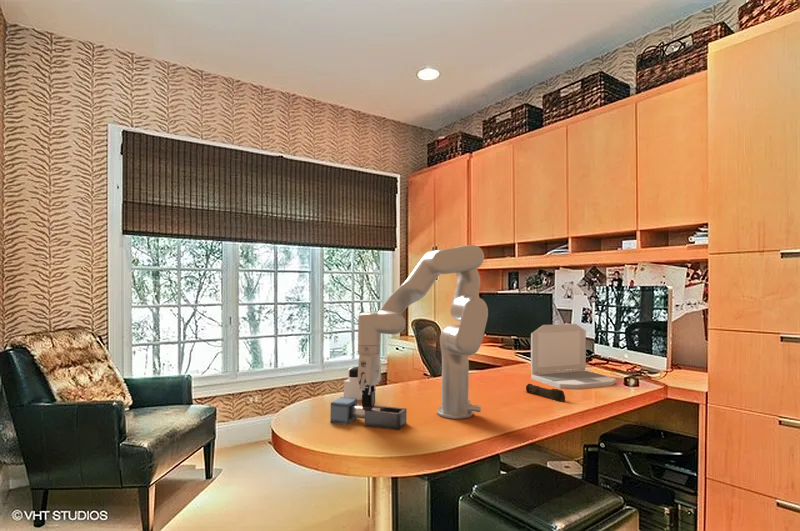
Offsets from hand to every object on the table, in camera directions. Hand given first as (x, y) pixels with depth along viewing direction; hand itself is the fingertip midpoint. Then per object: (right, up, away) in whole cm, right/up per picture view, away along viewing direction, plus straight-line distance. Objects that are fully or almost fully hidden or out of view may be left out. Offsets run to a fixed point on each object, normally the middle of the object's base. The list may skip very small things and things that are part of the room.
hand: (368, 404), depth 153 cm
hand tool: (+71, -8, +37) cm, 80 cm away
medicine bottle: (-7, -7, +32) cm, 33 cm away
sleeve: (+6, -6, -2) cm, 9 cm away
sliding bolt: (-3, -5, +1) cm, 6 cm away
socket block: (-8, -6, +3) cm, 11 cm away
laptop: (+94, -10, +66) cm, 116 cm away
